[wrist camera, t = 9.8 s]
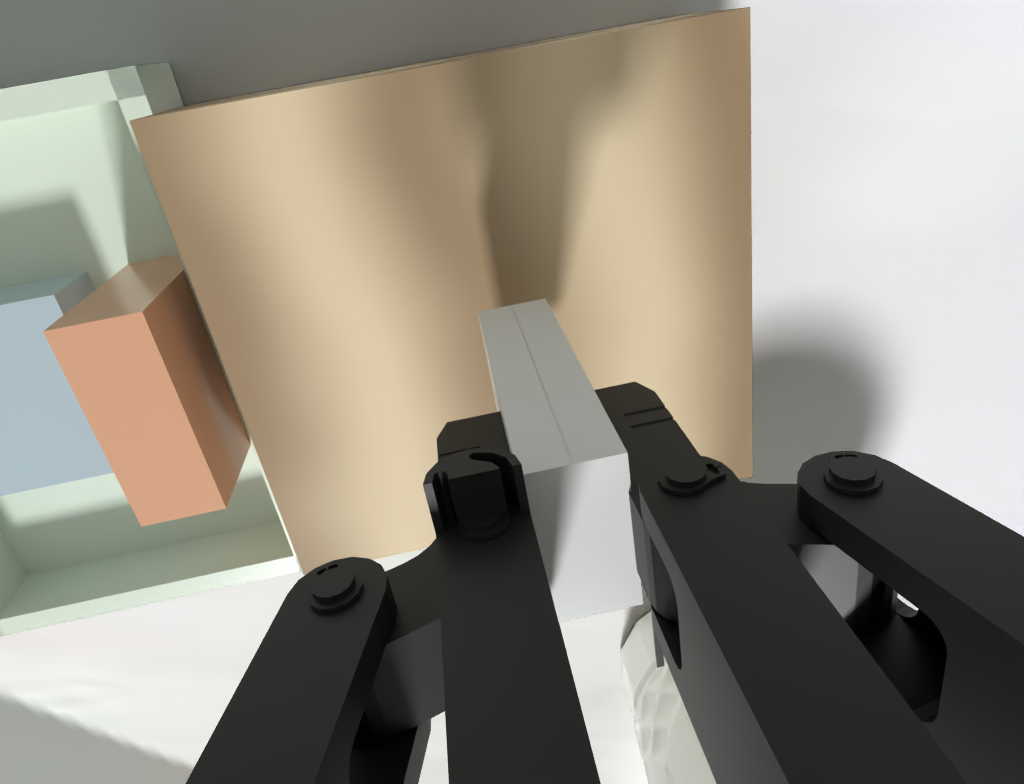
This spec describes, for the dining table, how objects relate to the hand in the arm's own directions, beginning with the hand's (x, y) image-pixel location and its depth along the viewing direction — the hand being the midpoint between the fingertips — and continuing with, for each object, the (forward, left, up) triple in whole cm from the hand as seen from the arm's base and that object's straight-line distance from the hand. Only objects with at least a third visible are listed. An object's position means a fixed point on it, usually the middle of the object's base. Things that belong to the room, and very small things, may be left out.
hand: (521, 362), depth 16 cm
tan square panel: (0, 0, -6) cm, 6 cm away
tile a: (+7, 0, -3) cm, 8 cm away
